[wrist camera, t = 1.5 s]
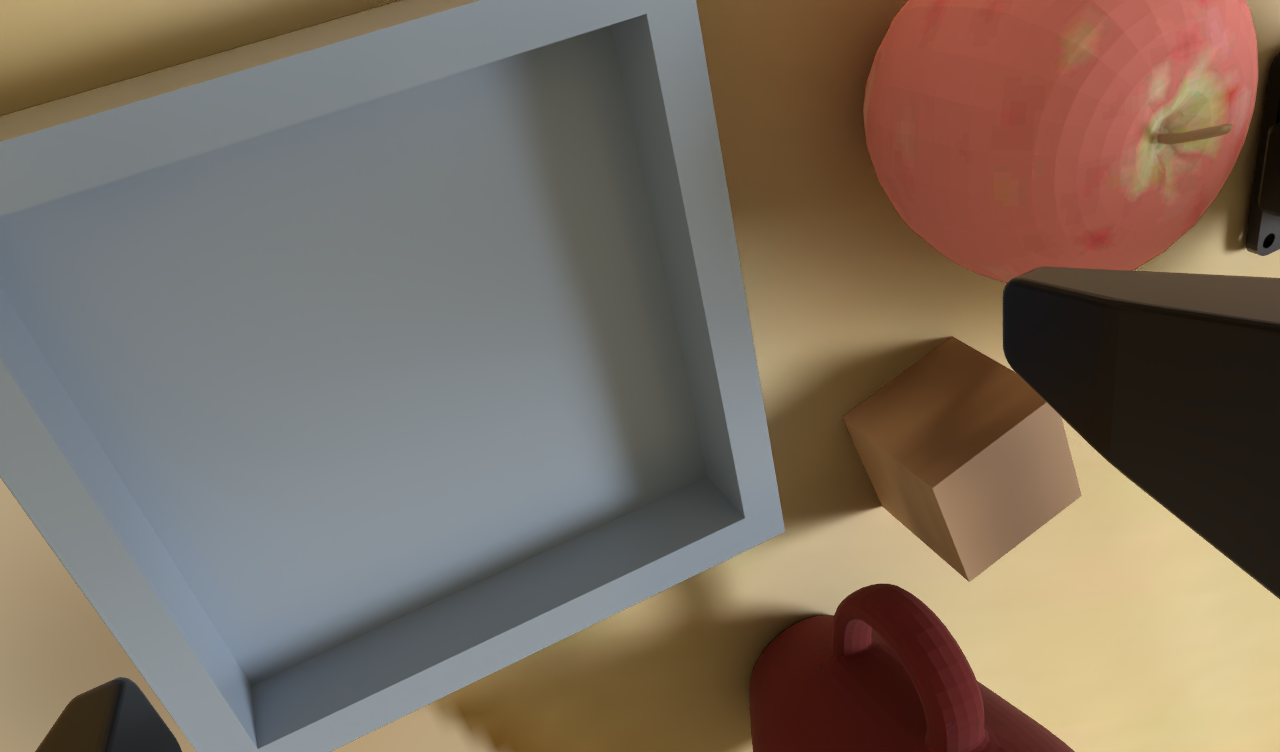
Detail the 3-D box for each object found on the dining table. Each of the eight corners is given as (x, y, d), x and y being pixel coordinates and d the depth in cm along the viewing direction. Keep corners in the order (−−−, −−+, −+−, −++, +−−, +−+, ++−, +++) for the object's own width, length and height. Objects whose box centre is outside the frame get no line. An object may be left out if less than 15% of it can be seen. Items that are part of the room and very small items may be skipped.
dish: (628, -66, 19) (685, -61, 17) (735, 479, 26) (785, 531, 24) (-146, 158, 15) (-198, 200, 13) (226, 714, 23) (230, 800, 21)
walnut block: (950, 335, 27) (1055, 395, 24) (981, 429, 30) (1081, 495, 26) (840, 415, 27) (932, 488, 24) (880, 504, 29) (969, 581, 26)
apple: (805, -81, 20) (1106, -71, 14) (1069, -98, 23) (1430, -96, 16) (792, 248, 24) (1028, 383, 17) (1022, 202, 26) (1304, 305, 20)
